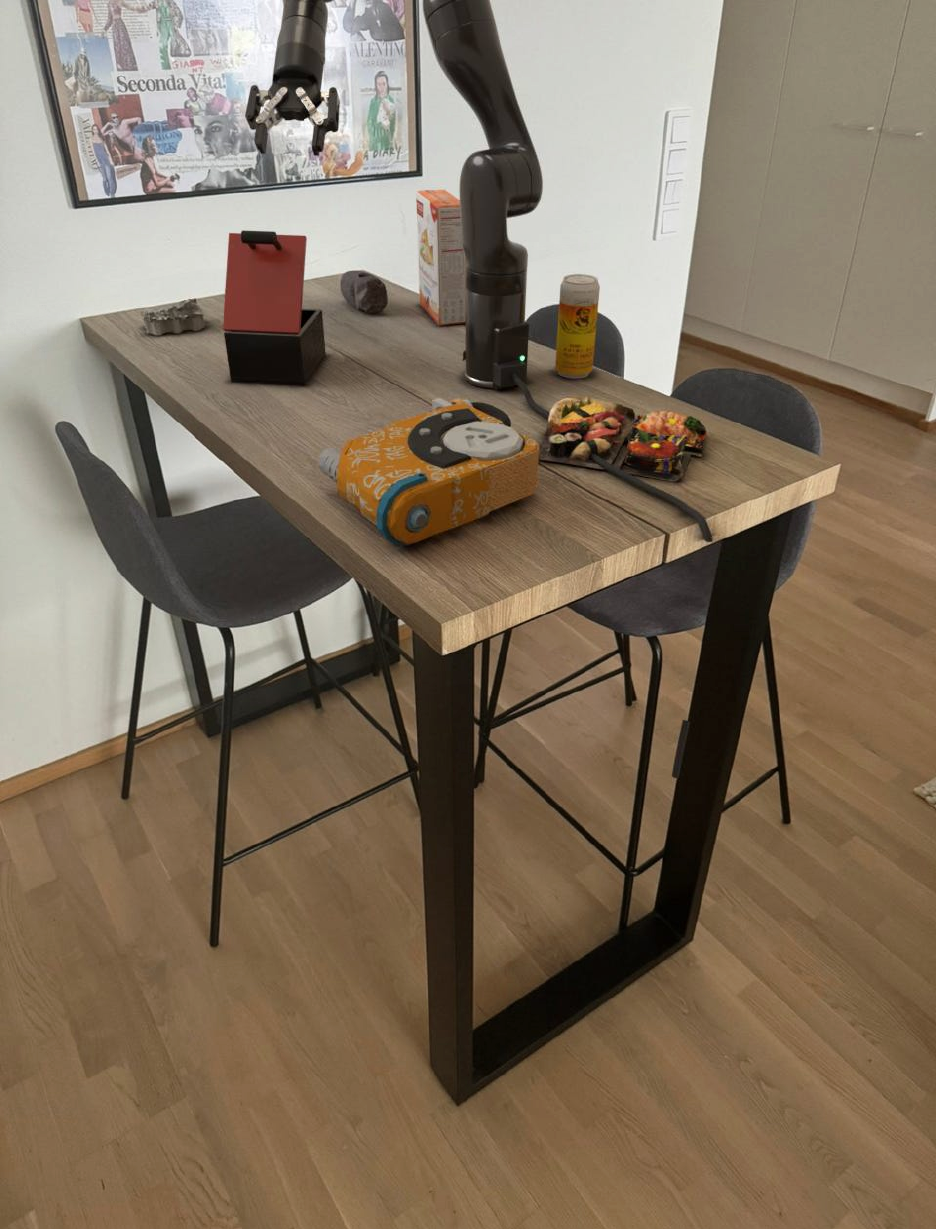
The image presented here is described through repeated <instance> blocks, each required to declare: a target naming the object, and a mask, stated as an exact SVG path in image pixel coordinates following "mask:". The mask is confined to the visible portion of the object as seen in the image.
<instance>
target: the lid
mask: <svg viewBox="0 0 936 1229" xmlns="http://www.w3.org/2000/svg"><path fill="white" fill-rule="evenodd" d="M307 238H308V237H307V236H306V235H301V234H300V235H299V234H298V235H297V234H296V235H295V234H277V232H276V231H274V230H273V231H271V230H270V231H267V230H245V229H244V230H241V232H229V233H228V242H227V258H226V272H225V288H224V300H223V302H224V303H223V318H222V330H223V331H224V332H226V331H240V332H262V333H284V334H300V329H301V314H302V309H303V298H304V284H305V283H304V282H305V269H306V268H305V267H306V257H307V256H306V254H307Z"/></svg>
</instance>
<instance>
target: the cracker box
mask: <svg viewBox="0 0 936 1229" xmlns="http://www.w3.org/2000/svg"><path fill="white" fill-rule="evenodd" d="M415 196H416V199H415V200H416V222H417V223H416V224H417V226H416V227H417V254H418V255H417V256H418V258H417V259H418V285H419V287H418V290H419V305H420V306H421V307H422V308H423V309H424V310H425V312H426V313H427V314H428V315H429V316H430V317H431V318H432V319H433V320H434V322H435V323H436V324H437V325H438V326H439V327H442V326H450V325H460V324H461V325H462V324H466V255H465V252H464V249H463V245H462V239H461V217H460V199H458V198H457V197H456V196H454V195H452V194H451V193H450V192H449V191H447V190H445V189H424V190H417V191H415Z"/></svg>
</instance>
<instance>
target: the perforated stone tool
mask: <svg viewBox="0 0 936 1229" xmlns="http://www.w3.org/2000/svg"><path fill="white" fill-rule="evenodd" d="M340 291H341V294H342V297H343V298H344V300H345V301H346V302H347V303H349V304H350V305H351V306H352V307H354V309H356V310H358V311H364V313H367V314H375V313H382V312H383V311H385V309H386V308H387V306H388V301H389V296H388V290H387V286H386V284H385V283H384V281H383V280H382V279H380V278H378V277H377V276H376V275H374V274H371V273H369V272H365V271H361V270H347V271H346V272H345V273H343V274H342V276H341V278H340Z"/></svg>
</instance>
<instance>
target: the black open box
mask: <svg viewBox="0 0 936 1229" xmlns="http://www.w3.org/2000/svg"><path fill="white" fill-rule="evenodd" d="M323 318H324V316H323V309H320V308H319V309H317V308H302V314H301V329H300V334H284V333H262V332H240V331H224V332H223V335H224V336H223V337H224V343H225V350H226V356H227V362H228V363H227V364H228V369H229V376H230V382H231V383H248V384H269V385H270V384H271V385H289V386H306V385H307V383H308V381H310V379H311V377H312V376H313V374H314V373H315V372H316V371H317V369H318V368H319V366H320V364H321V363H322V362H323V361H324V359H325V358H326V356H327V352H326V340H325V330H324V328H325V327H324V319H323Z"/></svg>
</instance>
